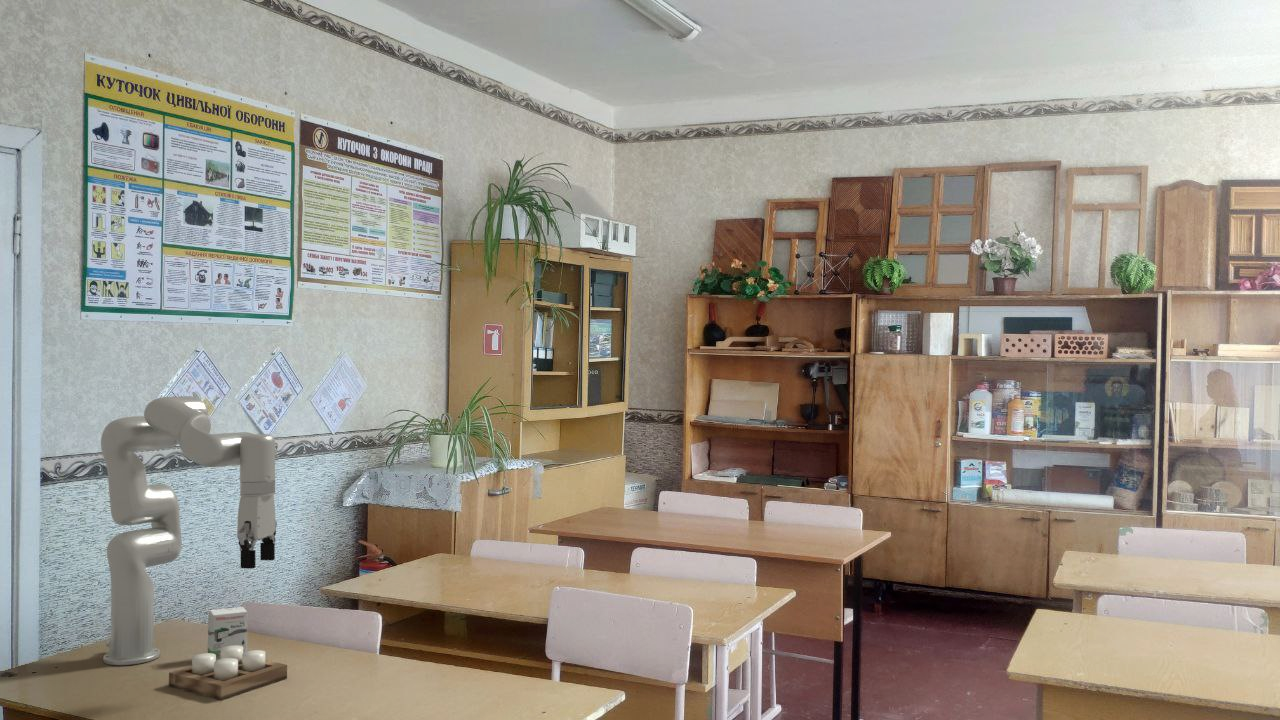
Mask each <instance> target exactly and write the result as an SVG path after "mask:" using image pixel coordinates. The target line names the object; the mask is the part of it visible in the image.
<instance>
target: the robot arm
mask: <svg viewBox="0 0 1280 720" xmlns="http://www.w3.org/2000/svg"><path fill="white" fill-rule="evenodd" d="M208 414H209V413H208V408H207V405H206V404H205V402H204V401H203V400H202V399H201V398H198V397H196V396H192V395H191V396H189V395H187V396H186V395H185V396H184V395H183V396H182V395H181V396H161V397H157V398H155V399H153V400H151V401H150V402H148V404H146V406H145V408H144V411H143V416H139V415H138V416H126V417H121V418H120V417H119V418H116V419H114V420H111V421H110V422H109V423H107V424H106V426H105V427H104V429H103V431H102V434H101V438H100V448H101V454H102V457H103V461H104V463H105V464H104V465H105V466H106V471H107V477H108V478H107V479H108V480H107V481H108V483H107V484H108V493H109V494H108V495H109V505H110V514H111V518H112V520H113V522H114V523H115V524H116V525H119V526H136V525H142V524H149V523H150V524H151V527H148V528H140V529H134V530H133V529H132V530H129V531H124V532H121V533H118V534H117V535H115V536H113V537H112V538H111V539H110V540H109V542H108V543H107V546H106V558H107V562H108V567H109V574H110V639H109V640H106V641H105V642H104V643H105V644H104V645H105V647H108V649H109V651H108V652H107V653H106V654H104V655H103V658H102V661H103V663H105V664H107V665H111V666H112V665H113V666H131V665H132V666H133V665H138V664H143V663H147V662H151V661H154V660H156V659H158V658H159V657H160V655H161V650H160V649H159V648H156V647H154V617H155V615H154V614H155V613H154V612H155V607H154V606H155V602H154V601H155V587H154V582H153V579H152V578H151V577H150V575H149V574H148V572H147V571H146V568H149V567H156V566H159V565H164V564H169V563H172V562H174V561H175V560H176V559H178V557H179V556H180V554H181V551H182V544H183V543H182V531H181V530H182V529H181V527H182V526H181V518H180V517H181V516H180V505H179V504H180V503H179V499H178V496H177V494H176V492H175V491H174V489H173V488H172V487H171V486H170V485H167V484H165V483H154V484H148V481H147V470H146V467H145V464H144V462H143V461H142V460H141V458H140V457H139V456H138V454H136V453H135V452H137V451H152V450H153V451H154V450H164V449H165V450H167V449H171V448H174V447H175V446H178V445H179V448H180V451H181V452H182V454H183V455H184V457H186V459H189V460H191V461H193V462H194V463H196V464H199V465H201V466H204V467H208V468H222V467H228V466H229V467H230V466H239V496H240V497H239V503H238V510H237V525H236V526H237V527H236V528H237V529H236V533H237V534H236V537H237V540H238V542H237V543H238V545H239V551H240V568H241V569H250V570H251V569H256V561H257V560H256V549H255V546H256V543H257V541H260V540H261V542H260V543H259V545H260V547H259V548H260V550H259V551H260V561H274V560H275V557H276V556H275V555H276V551H275V550H276V547H275V545H276V544H275V542H276V534H277V530H276V529H277V524H278V522H277V521H276V507H275V506H276V505H275V495H276V440H275V437H274V436H273V435H272V434H268V433H267V434H266V433H256V434H255V433H251V432H246V431H245V432H244V431H241V432H228V433H227V432H224V433H214V434H213V433H212V434H211V433H210V432H211V428H212V422H211V419H210V418H209V415H208Z"/></svg>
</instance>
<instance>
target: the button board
mask: <svg viewBox="0 0 1280 720" xmlns="http://www.w3.org/2000/svg"><path fill="white" fill-rule="evenodd" d="M217 660H220V658H217V659H216V661H217ZM287 679H288V664H285V663H280V662H276V661H272V660H267V659H265V668H264V669H261V670H258V671H253V672H247V671H243V670H242V664H239V665H238V677H236V678H233V679H229V680H216V679H214V672H213V673H209V674H206V675H196V674H192V665H191V666H186V667H183V668H180V669H177V670H176V669H175V670H173V671H169V672H168V688H169V687H170V688H172V689H177V690H180V691H183V692H184V691H185V692H188V693H191V694H196V695H200V696H203V697H207V698H211V699H215V700H218V701H224V700H227V699H230V698H232V697H236V696H239V695H241V694H244V693H248V692H251V691H254V690H257V689H260V688H263V687H266V686H269V685H271V684H275V683H279V682H280V681H284V680H287Z"/></svg>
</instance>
